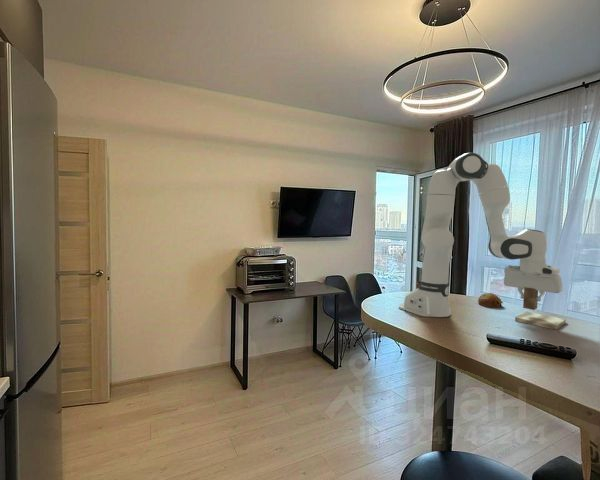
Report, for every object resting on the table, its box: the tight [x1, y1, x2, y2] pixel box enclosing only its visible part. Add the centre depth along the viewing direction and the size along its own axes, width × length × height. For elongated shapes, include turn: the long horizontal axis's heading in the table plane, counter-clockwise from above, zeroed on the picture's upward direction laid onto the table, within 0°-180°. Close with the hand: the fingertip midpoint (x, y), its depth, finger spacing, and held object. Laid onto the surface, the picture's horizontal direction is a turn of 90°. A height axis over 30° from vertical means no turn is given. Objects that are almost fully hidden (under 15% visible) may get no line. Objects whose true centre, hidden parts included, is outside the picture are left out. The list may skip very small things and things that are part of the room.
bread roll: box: [477, 292, 504, 309], centre depth 161 cm, size 10×10×8 cm
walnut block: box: [522, 287, 539, 311], centre depth 137 cm, size 4×4×9 cm
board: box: [514, 311, 567, 331], centre depth 135 cm, size 14×14×2 cm
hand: (530, 299), depth 137 cm, fingers closed on walnut block, 4 cm apart
